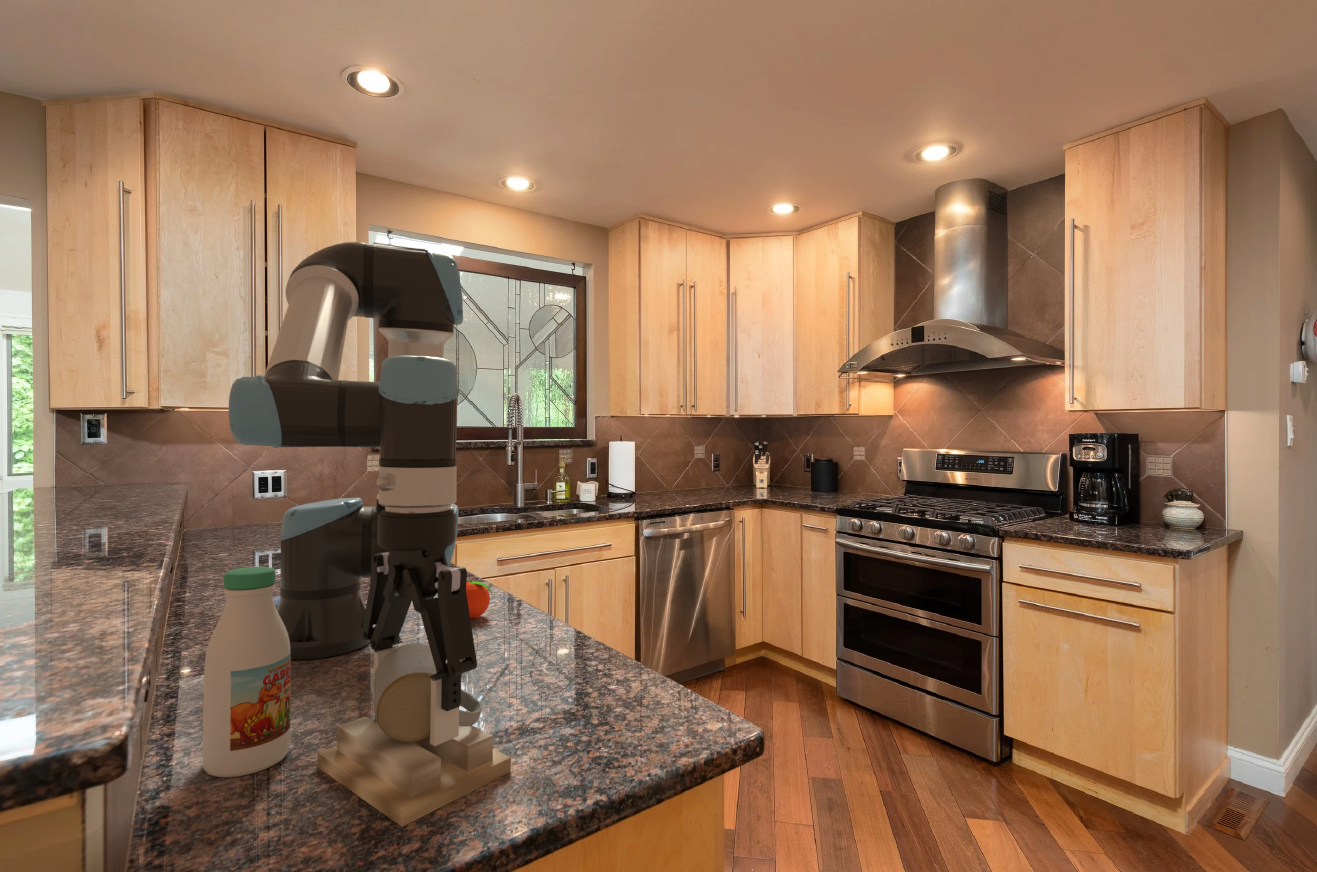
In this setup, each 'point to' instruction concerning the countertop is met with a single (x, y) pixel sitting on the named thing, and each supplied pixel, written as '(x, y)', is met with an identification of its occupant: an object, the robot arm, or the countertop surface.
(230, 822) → the countertop surface
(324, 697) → the countertop surface
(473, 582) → the clementine
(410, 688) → the speckled stoneware cup
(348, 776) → the wooden block with ridges
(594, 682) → the countertop surface
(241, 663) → the milk bottle
